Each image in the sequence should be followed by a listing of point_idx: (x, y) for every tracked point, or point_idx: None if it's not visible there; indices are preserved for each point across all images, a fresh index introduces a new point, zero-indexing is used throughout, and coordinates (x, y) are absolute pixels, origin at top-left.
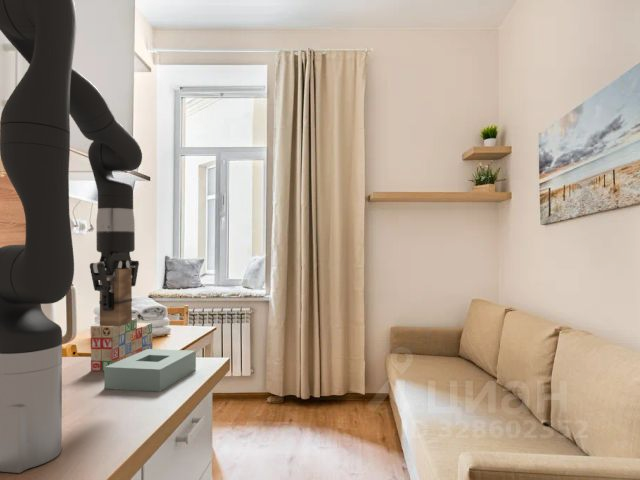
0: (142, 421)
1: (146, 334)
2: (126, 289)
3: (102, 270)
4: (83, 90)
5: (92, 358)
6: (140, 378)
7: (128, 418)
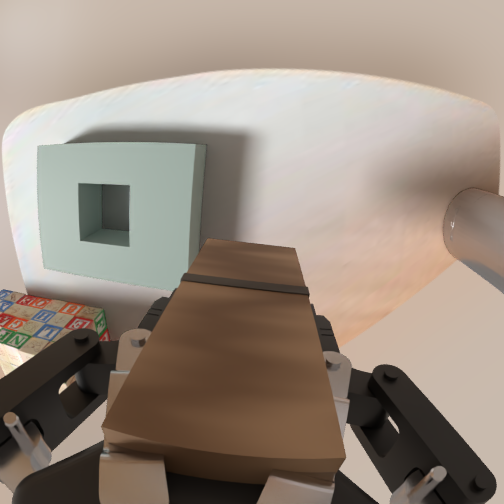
0: (369, 112)
1: None
2: (225, 320)
3: (466, 458)
4: None
5: None
6: (196, 195)
7: (357, 142)
